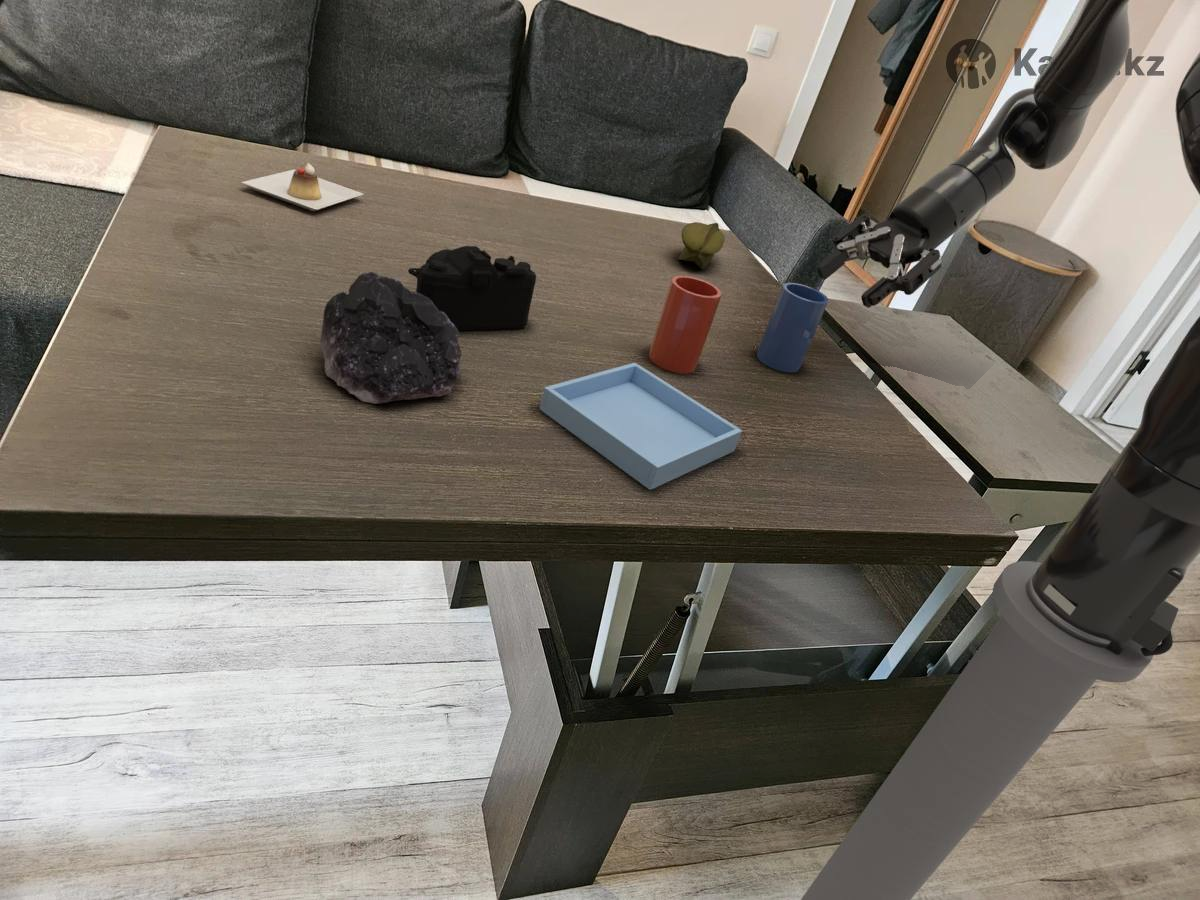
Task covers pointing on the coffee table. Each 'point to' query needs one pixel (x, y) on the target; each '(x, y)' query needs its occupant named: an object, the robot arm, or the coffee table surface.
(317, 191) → the dessert
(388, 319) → the crystal cluster
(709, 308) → the red cup
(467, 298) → the film camera
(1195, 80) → the robot arm
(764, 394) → the coffee table surface
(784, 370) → the blue cup
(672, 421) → the tray
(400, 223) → the coffee table surface
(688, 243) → the fruit
